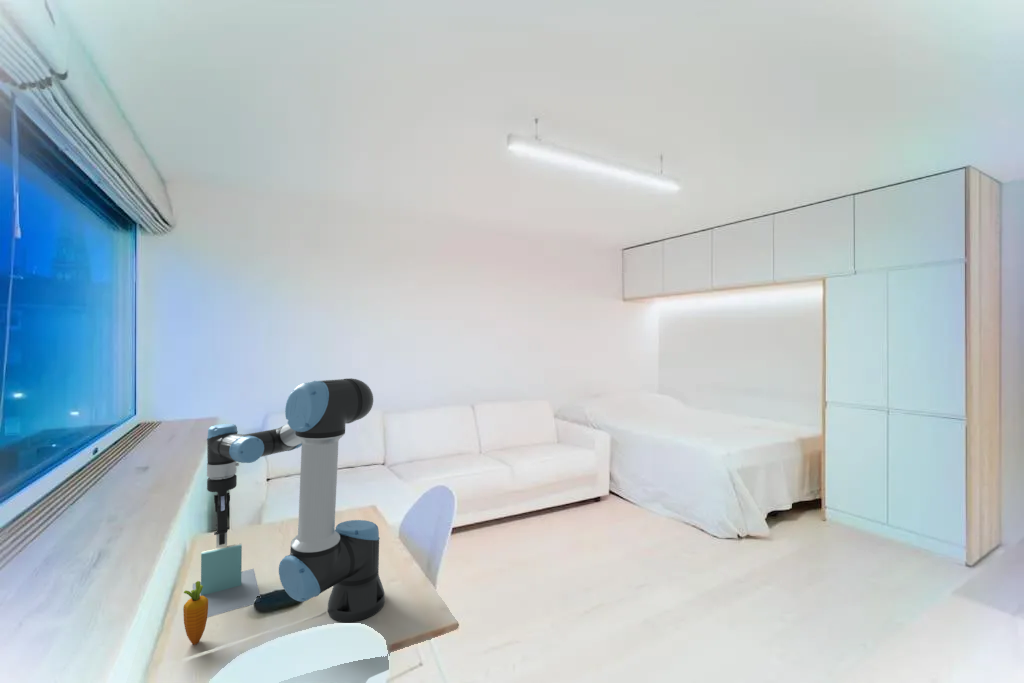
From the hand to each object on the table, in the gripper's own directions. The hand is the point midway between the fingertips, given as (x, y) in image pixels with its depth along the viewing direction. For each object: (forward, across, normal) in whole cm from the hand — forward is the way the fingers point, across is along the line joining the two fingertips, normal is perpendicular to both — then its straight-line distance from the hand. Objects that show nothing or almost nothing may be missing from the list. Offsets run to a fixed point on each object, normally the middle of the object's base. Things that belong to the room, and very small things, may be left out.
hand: (221, 553), depth 135 cm
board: (+9, -4, 0) cm, 10 cm away
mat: (+10, -6, -1) cm, 12 cm away
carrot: (+10, -28, +6) cm, 30 cm away
